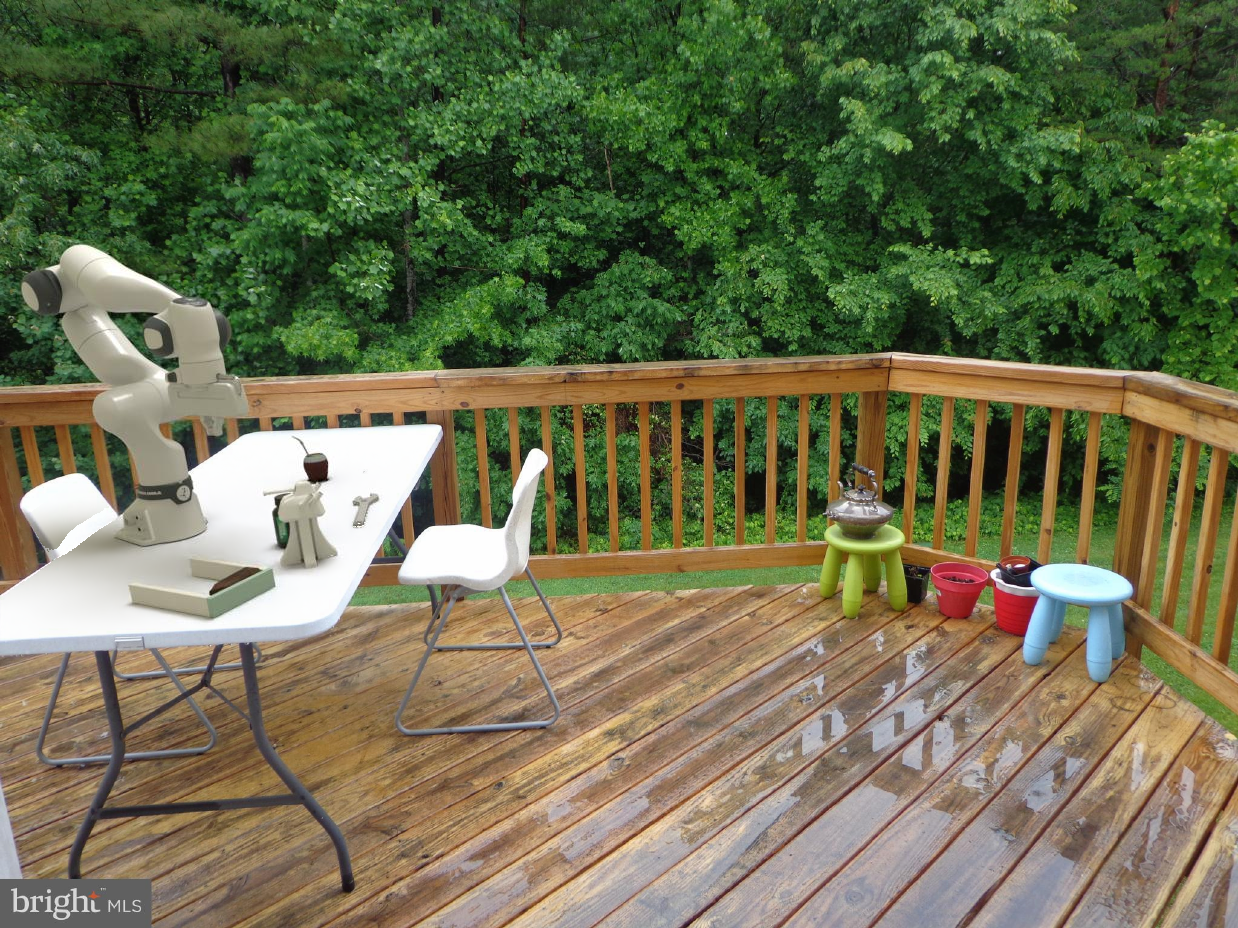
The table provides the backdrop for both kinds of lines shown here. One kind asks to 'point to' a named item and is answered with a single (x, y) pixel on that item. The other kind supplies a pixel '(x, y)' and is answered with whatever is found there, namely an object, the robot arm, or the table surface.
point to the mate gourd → (315, 465)
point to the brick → (233, 579)
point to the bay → (201, 602)
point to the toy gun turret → (303, 524)
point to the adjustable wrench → (363, 507)
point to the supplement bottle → (280, 524)
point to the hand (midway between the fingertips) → (215, 435)
